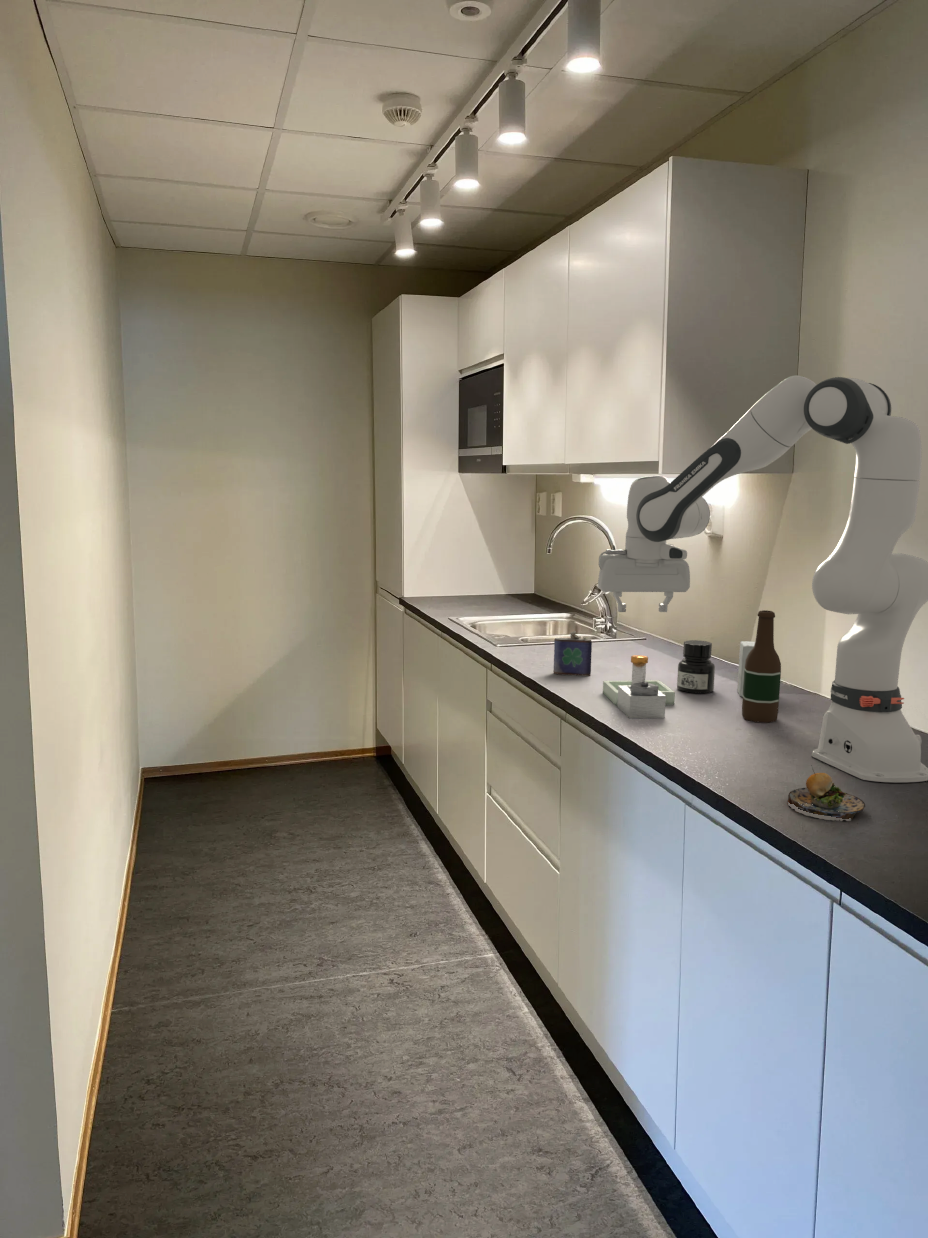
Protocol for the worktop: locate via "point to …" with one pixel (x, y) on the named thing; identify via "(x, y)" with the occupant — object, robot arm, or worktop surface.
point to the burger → (825, 798)
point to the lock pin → (638, 668)
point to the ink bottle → (696, 668)
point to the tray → (612, 686)
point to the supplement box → (743, 663)
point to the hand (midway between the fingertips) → (642, 611)
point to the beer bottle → (762, 674)
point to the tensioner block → (641, 701)
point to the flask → (572, 655)
